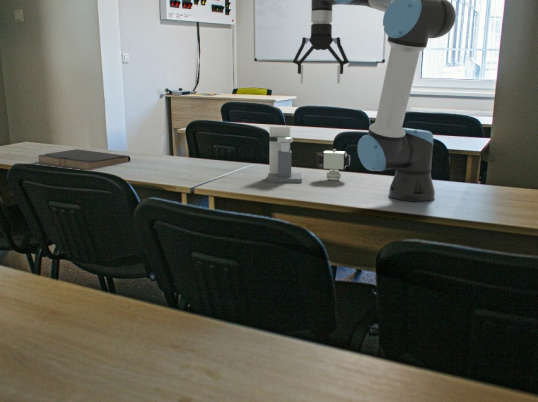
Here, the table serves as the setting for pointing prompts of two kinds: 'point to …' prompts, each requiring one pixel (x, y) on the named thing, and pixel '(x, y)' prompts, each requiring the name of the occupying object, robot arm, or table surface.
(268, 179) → the stand
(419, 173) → the robot arm
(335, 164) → the pneumatic valve
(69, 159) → the brown book
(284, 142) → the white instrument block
